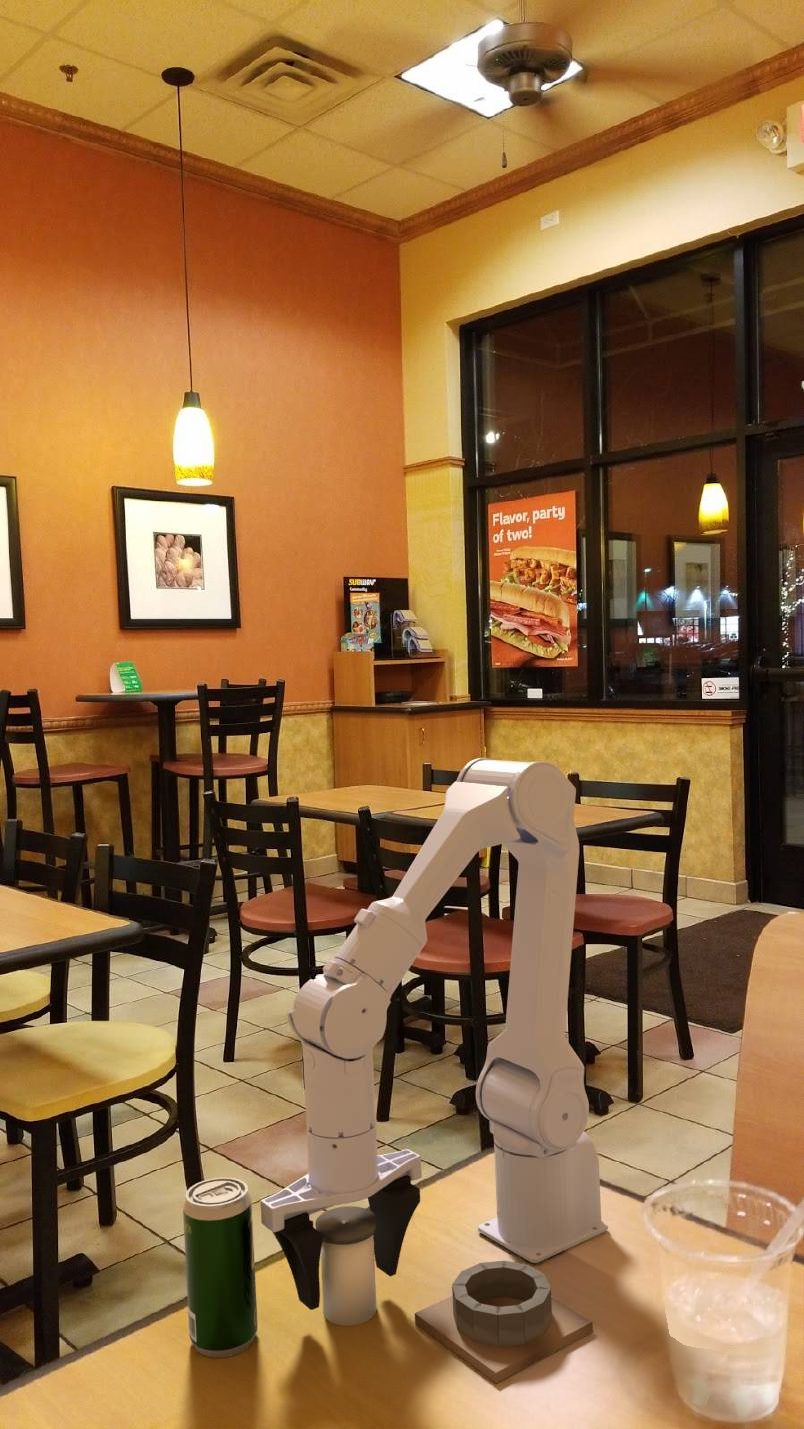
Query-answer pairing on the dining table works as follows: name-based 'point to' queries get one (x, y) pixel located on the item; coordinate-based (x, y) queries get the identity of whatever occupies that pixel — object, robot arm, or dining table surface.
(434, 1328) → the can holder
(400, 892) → the robot arm
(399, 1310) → the dining table surface
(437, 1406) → the dining table surface
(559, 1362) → the dining table surface
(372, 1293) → the grey-capped cream cylinder
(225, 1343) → the green guarana soda can
